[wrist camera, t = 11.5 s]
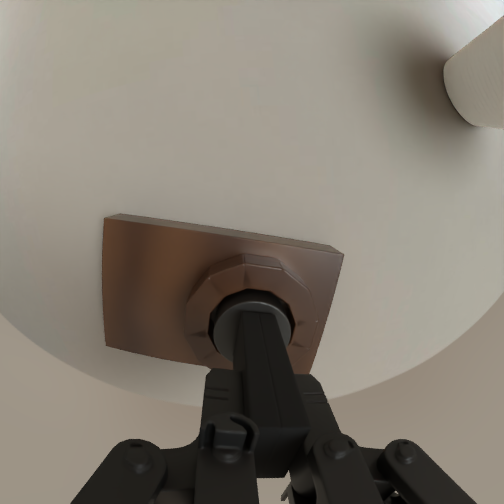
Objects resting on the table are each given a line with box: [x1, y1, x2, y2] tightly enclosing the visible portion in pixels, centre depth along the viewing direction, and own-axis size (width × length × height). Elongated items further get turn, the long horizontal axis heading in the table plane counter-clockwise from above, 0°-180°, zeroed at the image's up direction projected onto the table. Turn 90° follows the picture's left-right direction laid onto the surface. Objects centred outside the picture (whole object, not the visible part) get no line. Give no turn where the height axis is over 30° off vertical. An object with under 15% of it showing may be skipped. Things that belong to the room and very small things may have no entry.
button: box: [213, 288, 291, 363], centre depth 13 cm, size 4×4×2 cm
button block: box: [102, 214, 344, 374], centre depth 15 cm, size 13×8×4 cm, turn 80°
